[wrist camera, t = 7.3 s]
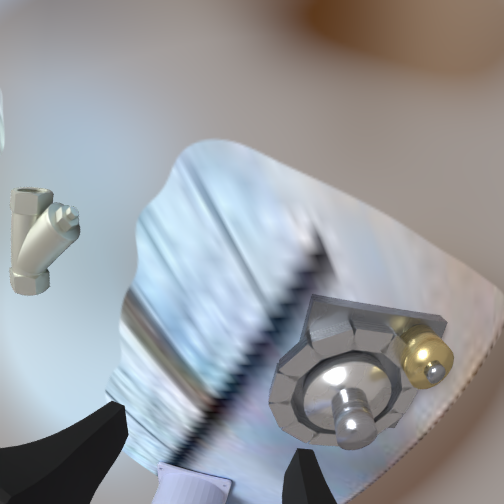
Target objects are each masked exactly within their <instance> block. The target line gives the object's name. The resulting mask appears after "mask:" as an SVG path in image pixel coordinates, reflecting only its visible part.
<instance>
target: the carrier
mask: <svg viewBox="0 0 504 504" xmlns="http://www.w3.org/2000/svg"><path fill="white" fill-rule="evenodd" d="M446 325H447V321H446V320H445V319H443V318H442V317H441V316H440V315H433V314H426V313H420V312H413V311H407V310H401V309H394V308H388V307H382V306H376V305H370V304H364V303H359V302H353V301H347V300H341V299H336V298H330V297H325V296H319V295H314V294H312V296H311V300H310V304H309V308H308V311H307V315H306V319H305V322H304V326H303V330H302V333H301V337H300V340H299V342H298V343H297V344H296V345H295V346H294V347H293V348H292V349H291V350H290V351H289V352H288V353H286V354H285V355H284V356H283V357H282V358H281V359H280V360H279V363H277V366H276V370H275V373H274V377H273V380H272V384H271V388H270V391H269V401H268V402H269V406H270V408H271V411H272V413H273V415H274V417H275V419H276V421H277V423H278V425H279V427H280V428H281V427H282V430H283V431H285V432H286V433H288V434H290V435H292V436H293V437H295V438H297V439H299V440H301V441H303V442H304V443H307V442H309V444H313V445H326V446H338V444H337V438H336V432H335V430H328V429H324V428H321V427H319V426H317V425H315V424H314V423H312V422H311V421H310V420H309V419H308V417H307V416H306V414H305V411H304V400H303V387H304V383H305V381H306V379H307V377H308V375H309V374H310V373H311V371H312V370H313V369H314V368H315V367H316V366H318V365H319V364H320V363H322V362H323V361H325V360H327V359H329V358H331V357H334V356H336V355H340V354H344V353H363V354H367V355H370V356H372V357H374V358H375V359H377V360H378V361H379V362H380V363H381V365H382V366H383V368H384V370H385V372H386V374H387V376H388V378H389V380H390V383H391V396H390V399H389V401H388V403H387V405H386V407H385V408H384V409H383V411H382V412H381V413H380V414H379V415H378V416H376V417H375V418H374V421H375V425H376V428H377V431H378V434H379V433H381V432H382V431H383V430H385V429H386V428H395V426H396V425H397V423H398V421H399V420H400V418H401V417H402V416H403V413H405V412H406V411H407V409H408V407H409V406H410V404H411V402H412V400H413V399H414V397H415V395H416V393H417V391H418V389H428V388H431V387H433V386H435V385H437V384H438V383H440V382H441V381H442V380H443V379H444V378H445V377H446V376H447V374H448V373H449V371H450V370H451V368H452V365H453V360H454V356H453V352H452V351H451V349H450V348H449V347H448V346H447V345H446V344H445V343H444V342H443V340H442V339H441V337H442V335H443V332H444V330H445V327H446ZM378 434H377V435H378Z"/></svg>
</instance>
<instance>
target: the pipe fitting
mask: <svg viewBox="0 0 504 504" xmlns="http://www.w3.org/2000/svg"><path fill="white" fill-rule="evenodd" d="M53 195H54V194H53V192H52V191H50V190H48V189H43V188H34V187H20V188H15V189H13V190H11V200H10V208H11V211H12V220H11V264H12V267H11V268H10V283H11V286H12V288H13V290H14V292H15V293H18V294H21V295H28V296H30V295H38V294H40V293H43V292H44V291H46V290H47V289H48V288H49V287H50V285H49V284H50V282H49V271H48V269H47V268H48V267H49V266H50V265H51V264H52V263H53V262H54V261H55V260H56V258H57V257H59V256H60V255H61V254H62V253H63V252H64V251H65V250H66V249H67V248H68V247H69V246H70V245H71V244H72V243H73V242H74V241H76V240H77V239H78V237H79V235H80V225H79V218H78V216H79V212H78V210H77V209H76V208H75V207H74V206H71V207H70V206H68V205H63V204H61V203H53Z"/></svg>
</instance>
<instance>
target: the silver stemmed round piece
mask: <svg viewBox="0 0 504 504" xmlns="http://www.w3.org/2000/svg"><path fill="white" fill-rule="evenodd" d="M390 396H391V383H390V380H389V378H388V376H387V374H386V372H385V370H384V368H383V366H382V365H381V363H380V362H379V361H378V360H377V359H375V358H374V357H372V356H370V355H367V354H363V353H344V354H340V355H336V356H334V357H331V358H329V359H327V360H325V361H323V362H322V363H320V364H319V365H318V366H316V367H315V368H314V369H313V370H312V371H311V373H310V374H309V375H308V377H307V379H306V381H305V383H304V387H303V400H304V411H305V414H306V416H307V417H308V419H309V420H310V421H311V422H312V423H314V424H315V425H317V426H319V427H321V428H324V429H328V430H335V432H336V438H337V444H338V446H339V447H341V448H342V449H345V450H356V449H360V448H363V447H365V446H367V445H369V444H370V443H372V442H373V441H374V440H375V438H376V437H377V434H378V431H377V428H376V425H375V421H374V418H375V417H376V416H378V415H379V414H380V413H381V412H382V411H383V409H384V408H385V407H386V405H387V403H388V401H389V399H390Z"/></svg>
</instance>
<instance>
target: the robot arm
mask: <svg viewBox="0 0 504 504" xmlns="http://www.w3.org/2000/svg"><path fill="white" fill-rule="evenodd" d="M127 437H128V428H127V421H126V413H125V406H124V405H121V404H119V403H116V402H114V401H111V402H109V403H108V404H106V405H104V406H103V407H102V408H100V409H98V410H97V411H95V412H94V413H92V414H91V415H89V416H87V417H86V418H84V419H83V420H81V421H79V422H77V423H75V424H74V425H72V426H70V427H68V428H66V429H64V430H62V431H60V432H58V433H56V434H53V435H51V436H48V437H46V438H43V439H40V440H37V441H34V442H31V443H27V444H23V445H19V446H13V447H6V448H0V504H90V502H91V500H92V497H93V495H94V493H95V491H96V490H97V488H98V486H99V484H100V483H101V482H102V480H103V479H104V477H105V475H106V474H107V472H108V471H109V469H110V468H111V466H112V465H113V463H114V462H115V460H116V459H117V457H118V455H119V454H120V452H121V450H122V448H123V446H124V444H125V442H126V439H127ZM157 468H158V479H159V487H158V489H157V491H156V494H155V496H154V498H153V500H152V503H151V504H225V503H226V500H227V497H228V493H229V490H230V487H231V483H232V482H231V481H230V480H228V479H223V478H219V477H214V476H210V475H206V474H202V473H198V472H194V471H190V470H186V469H183V468H180V467H176V466H173V465H170V464H166V463H163V462H158V464H157ZM282 504H337V502H336V501H335V499H334V497H333V495H332V493H331V491H330V489H329V487H328V485H327V483H326V481H325V479H324V477H323V474H322V472H321V470H320V467H319V465H318V462H317V459H316V456H315V454H314V451H313V450H310V449H300V448H297V450H296V452H295V454H294V456H293V458H292V460H291V462H290V464H289V466H288V468H287V470H286V472H285V476H284V483H283V492H282Z"/></svg>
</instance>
